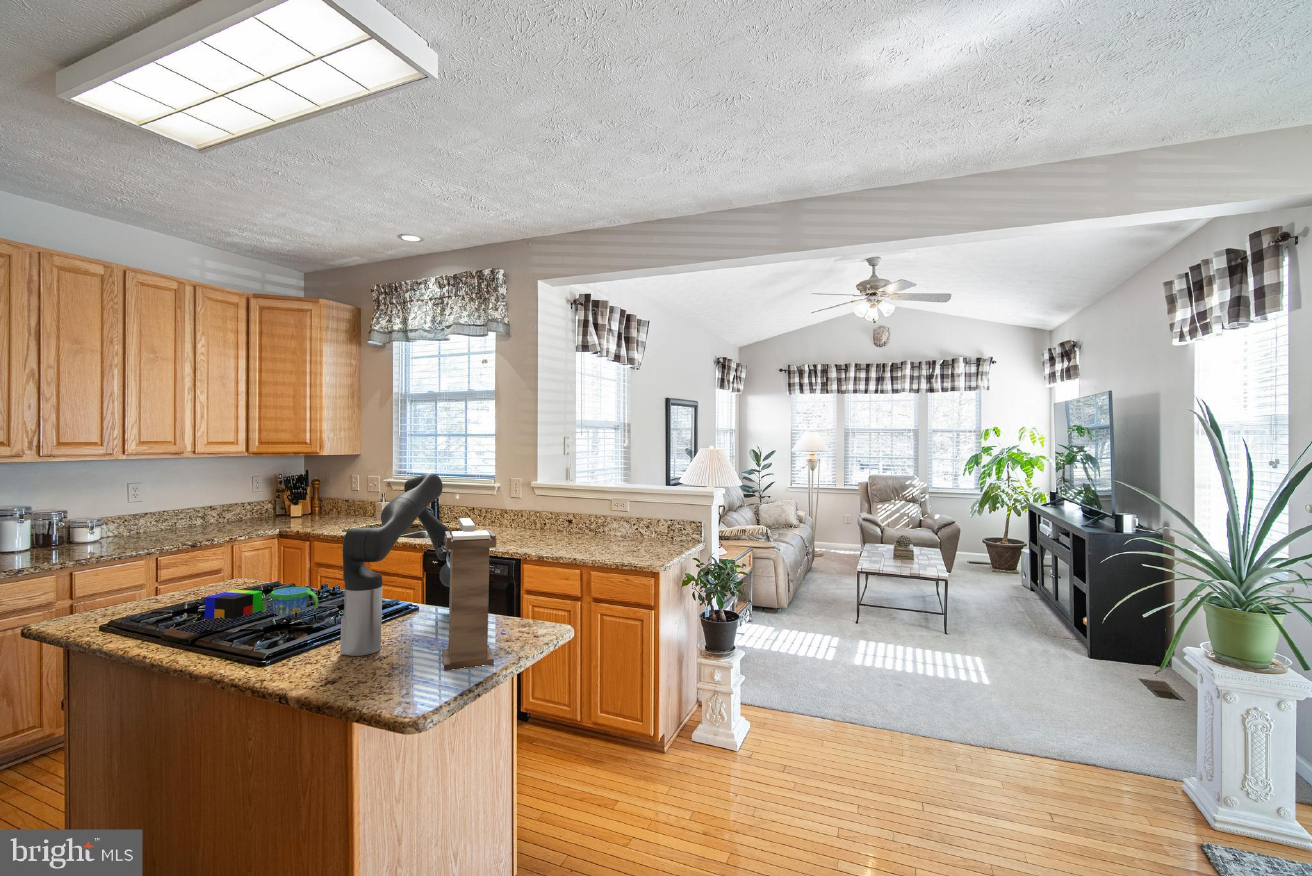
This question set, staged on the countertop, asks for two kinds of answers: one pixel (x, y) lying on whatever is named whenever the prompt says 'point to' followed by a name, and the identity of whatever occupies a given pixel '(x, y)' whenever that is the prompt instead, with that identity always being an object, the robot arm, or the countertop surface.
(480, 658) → the stand
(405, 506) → the robot arm
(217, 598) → the puzzle toy
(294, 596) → the snack cup
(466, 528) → the slide cover
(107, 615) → the countertop surface
